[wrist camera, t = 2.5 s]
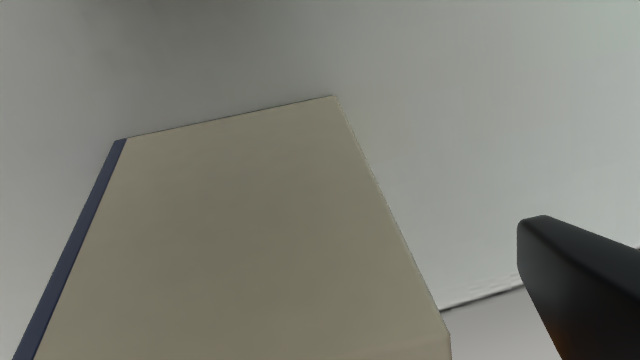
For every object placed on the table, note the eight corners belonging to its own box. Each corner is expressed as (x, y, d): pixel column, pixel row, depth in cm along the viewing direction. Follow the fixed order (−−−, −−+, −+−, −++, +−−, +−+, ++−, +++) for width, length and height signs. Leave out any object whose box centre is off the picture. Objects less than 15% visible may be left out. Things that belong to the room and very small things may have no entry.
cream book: (143, 213, 14) (48, 550, 7) (115, 138, 13) (-28, 440, 6) (348, 169, 14) (460, 453, 7) (335, 92, 13) (452, 332, 6)
